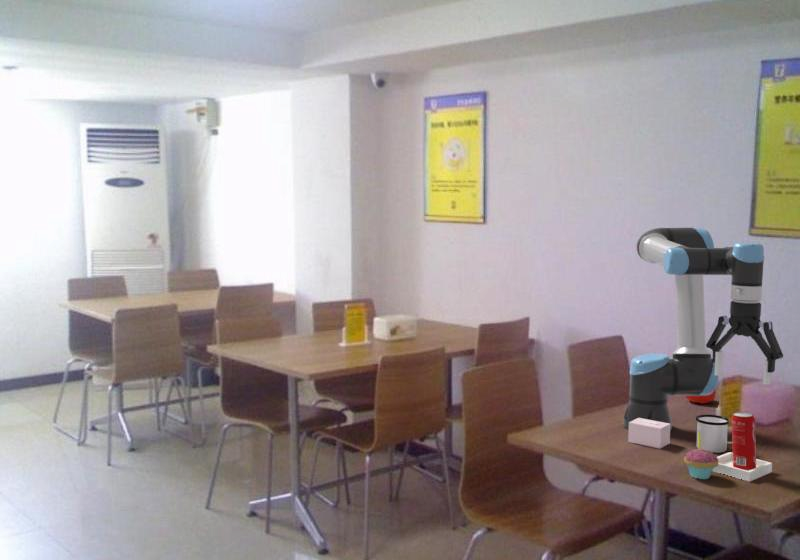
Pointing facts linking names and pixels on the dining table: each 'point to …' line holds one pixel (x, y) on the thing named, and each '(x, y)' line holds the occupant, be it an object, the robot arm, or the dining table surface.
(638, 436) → the tissue box
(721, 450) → the mug
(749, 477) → the tray
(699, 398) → the tomato
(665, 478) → the dining table surface
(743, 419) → the beverage can
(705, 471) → the cupcake
